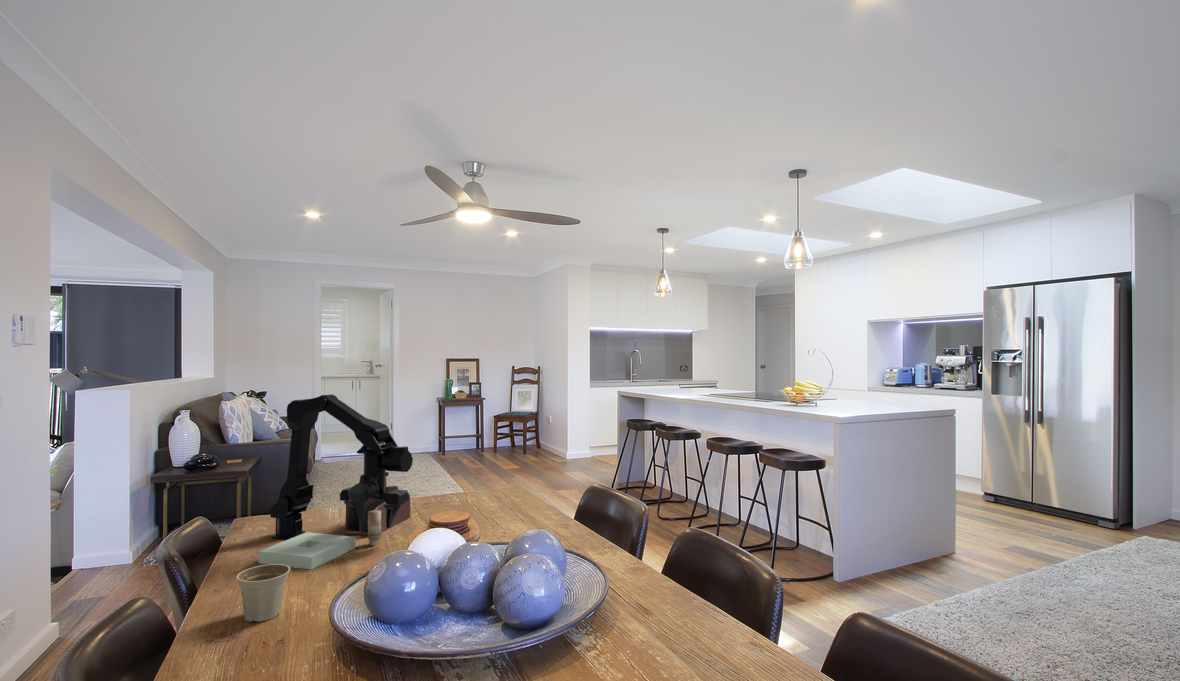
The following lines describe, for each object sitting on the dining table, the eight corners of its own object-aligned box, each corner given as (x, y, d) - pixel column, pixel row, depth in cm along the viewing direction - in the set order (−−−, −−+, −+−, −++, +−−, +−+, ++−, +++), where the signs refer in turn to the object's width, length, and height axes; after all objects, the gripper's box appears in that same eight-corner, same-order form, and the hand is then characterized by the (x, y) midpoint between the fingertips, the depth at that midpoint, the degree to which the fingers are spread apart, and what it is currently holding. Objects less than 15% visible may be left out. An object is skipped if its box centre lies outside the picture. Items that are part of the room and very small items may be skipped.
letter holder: (344, 534, 165) (345, 486, 165) (383, 516, 184) (384, 472, 185) (374, 536, 163) (375, 487, 163) (411, 518, 182) (411, 474, 182)
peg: (364, 545, 154) (365, 512, 155) (372, 541, 158) (373, 509, 158) (375, 547, 153) (376, 513, 154) (383, 543, 157) (383, 510, 157)
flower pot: (300, 609, 115) (301, 566, 116) (260, 630, 107) (260, 584, 107) (265, 602, 118) (266, 561, 119) (223, 622, 110) (224, 577, 110)
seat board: (258, 563, 141) (258, 551, 141) (306, 543, 157) (306, 532, 157) (311, 569, 137) (311, 557, 137) (355, 548, 152) (355, 537, 153)
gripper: (325, 473, 151) (324, 532, 150) (385, 477, 146) (385, 538, 145) (353, 466, 162) (352, 520, 161) (410, 469, 157) (409, 526, 156)
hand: (374, 526), depth 156 cm, fingers open, 9 cm apart
